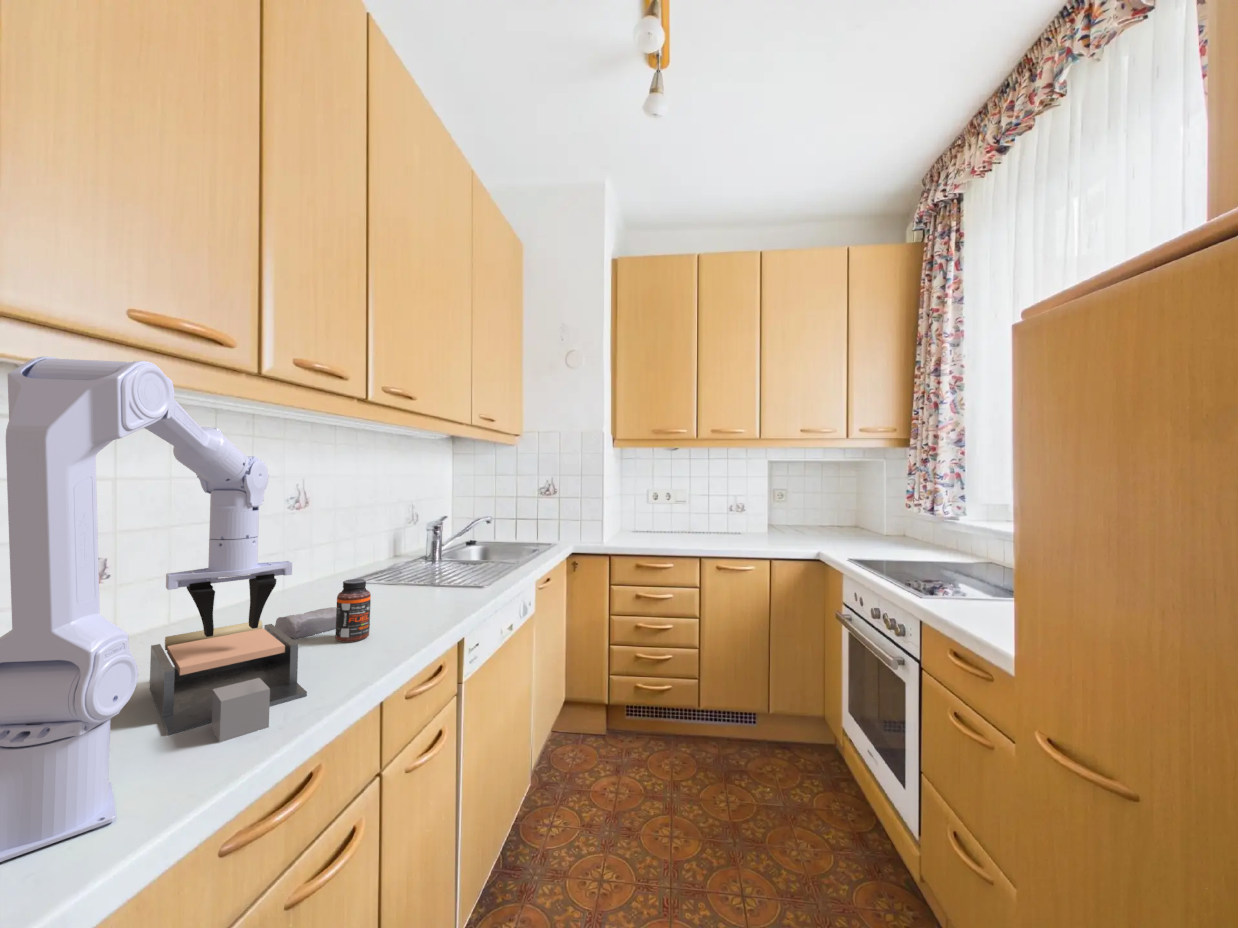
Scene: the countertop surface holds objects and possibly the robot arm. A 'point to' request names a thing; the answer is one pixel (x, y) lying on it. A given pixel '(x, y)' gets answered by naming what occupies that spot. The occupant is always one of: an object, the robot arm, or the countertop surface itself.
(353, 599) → the supplement bottle
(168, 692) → the trapdoor frame
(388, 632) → the countertop surface
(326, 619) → the stone block
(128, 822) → the countertop surface
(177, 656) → the trapdoor
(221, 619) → the countertop surface
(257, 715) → the grey cube
